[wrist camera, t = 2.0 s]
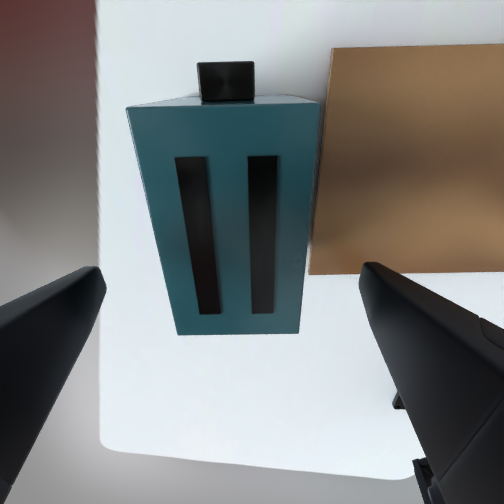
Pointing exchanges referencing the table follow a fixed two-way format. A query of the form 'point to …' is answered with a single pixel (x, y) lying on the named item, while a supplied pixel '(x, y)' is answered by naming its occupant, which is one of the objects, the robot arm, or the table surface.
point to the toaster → (229, 200)
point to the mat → (412, 161)
